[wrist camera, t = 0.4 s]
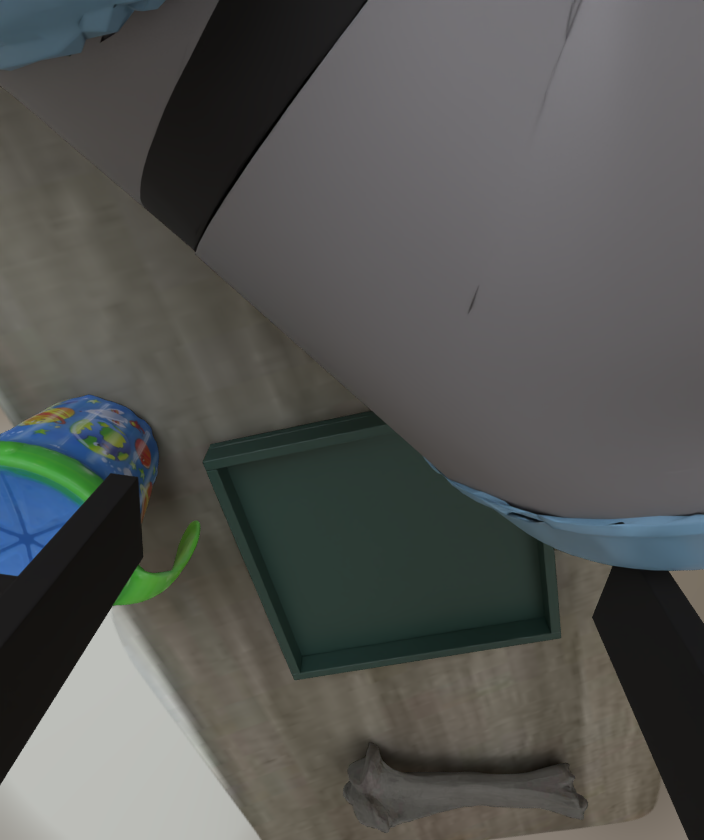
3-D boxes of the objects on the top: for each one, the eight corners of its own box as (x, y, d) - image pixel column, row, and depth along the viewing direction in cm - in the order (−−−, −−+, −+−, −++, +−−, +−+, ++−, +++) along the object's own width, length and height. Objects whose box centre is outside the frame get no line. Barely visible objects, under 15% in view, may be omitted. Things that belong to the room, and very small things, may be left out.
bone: (341, 773, 52) (339, 847, 47) (347, 731, 49) (346, 806, 44) (569, 786, 53) (593, 860, 48) (589, 745, 50) (618, 820, 45)
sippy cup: (-49, 429, 35) (-189, 533, 26) (24, 305, 31) (-109, 376, 22) (164, 554, 40) (108, 678, 31) (249, 458, 36) (215, 568, 27)
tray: (210, 443, 35) (201, 462, 33) (530, 377, 33) (541, 392, 31) (296, 656, 45) (294, 680, 43) (552, 615, 42) (561, 638, 40)
